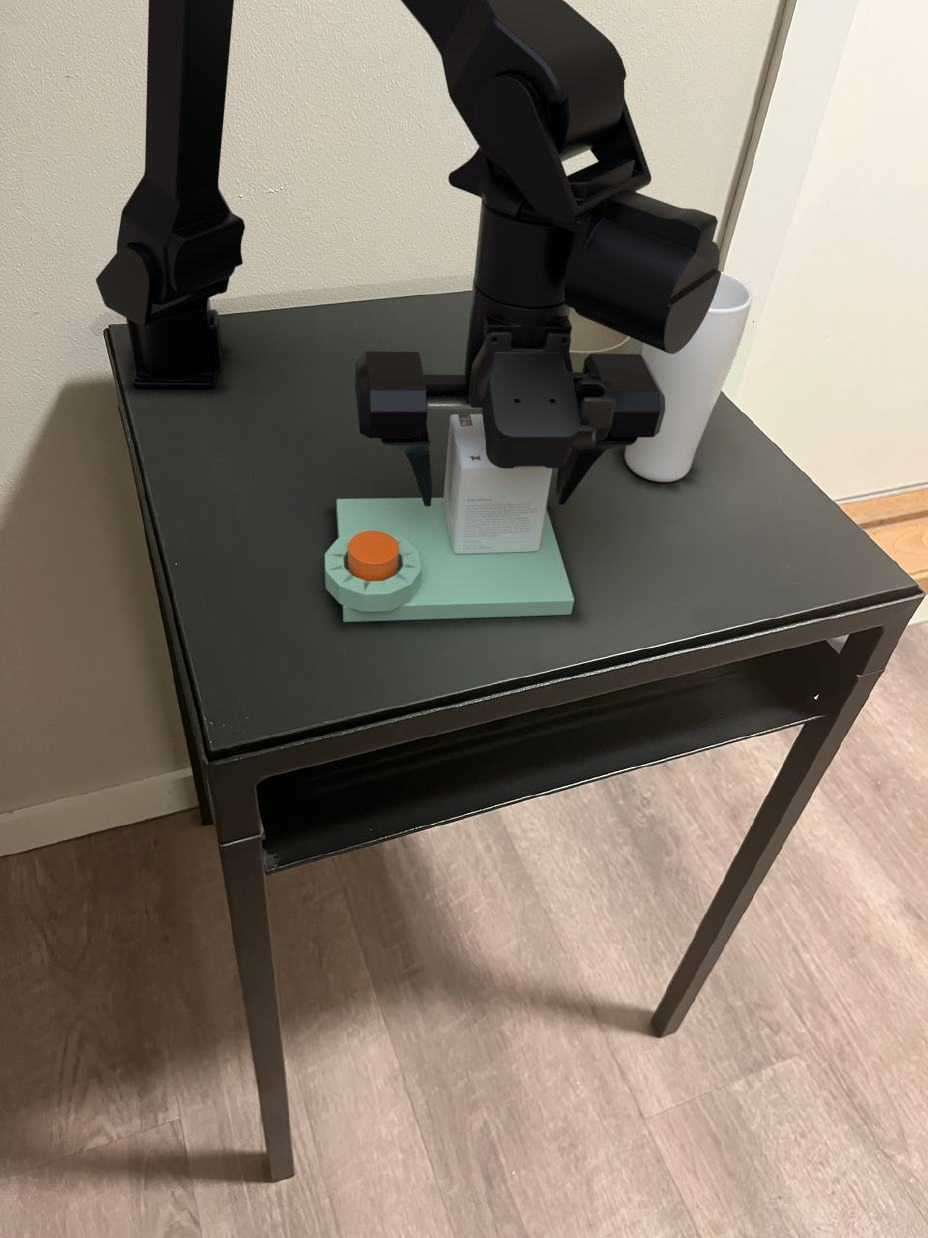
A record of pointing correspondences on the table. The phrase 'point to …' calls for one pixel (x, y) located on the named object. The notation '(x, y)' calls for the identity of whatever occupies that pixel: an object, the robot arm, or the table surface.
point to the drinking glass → (691, 385)
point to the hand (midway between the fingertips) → (493, 502)
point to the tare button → (373, 555)
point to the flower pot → (592, 340)
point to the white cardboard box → (490, 495)
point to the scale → (441, 569)
